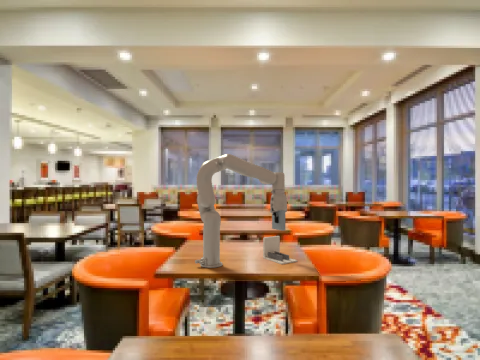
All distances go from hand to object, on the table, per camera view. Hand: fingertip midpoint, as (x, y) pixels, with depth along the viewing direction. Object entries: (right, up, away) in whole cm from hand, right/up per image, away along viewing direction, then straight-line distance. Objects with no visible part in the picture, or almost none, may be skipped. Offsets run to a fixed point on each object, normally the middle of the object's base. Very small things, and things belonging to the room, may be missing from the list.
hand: (278, 222), depth 191 cm
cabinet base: (+1, -23, 0) cm, 23 cm away
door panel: (0, -4, 0) cm, 4 cm away
